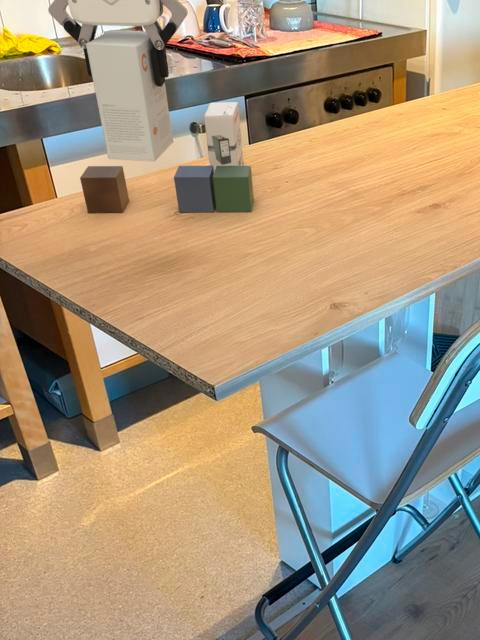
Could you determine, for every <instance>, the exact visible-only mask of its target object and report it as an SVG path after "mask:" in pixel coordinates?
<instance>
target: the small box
mask: <svg viewBox="0 0 480 640" xmlns="http://www.w3.org/2000/svg"><path fill="white" fill-rule="evenodd" d="M86 47H87V52H88V57H89V63H90V68H91V73H92V76H91V77H92V82H93V88H94V93H95V98H96V102H97V108H98V114H99V118H100V121H101V122H100V123H101V128H102V134H103V139H104V144H105V148H106V154H107V158H108V159H109V160H118V161H120V160H121V161H135V162H136V161H137V162H156V161H157V160H158V159H159V158H160V157H161V156H162V155H163V154H164V153H165V152H166V151H167V149H169V148H170V146H172V144H174V136H173V129H172V122H171V117H170V109H169V102H168V96H167V95H168V94H167V87H166V81H165V82H164V84H163V85H162V87H157V85H155V80H154V73H153V67H152V60H151V50H152V49H153V47H152V41H151V40H150V38H149V36H148V34H147V33H146V31H145V30H125V29H124V30H120V29H119V30H118V29H117V30H116V29H110V30H108V31H106V32H104V33H102V34H101V35H99V36H98V37H95V38H94V40H92V41H90V42H89V43H87V44H86Z"/></svg>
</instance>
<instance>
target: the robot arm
mask: <svg viewBox="0 0 480 640" xmlns="http://www.w3.org/2000/svg"><path fill="white" fill-rule="evenodd" d="M67 7H68V9H69V13H70V14H69V13H68V11H67ZM164 7H165V8H166V9H168V10H169V12H170V13H171V17H170V18H169V20H168V22H167V23H166V24H165V26H164V27H162V26H161V24H160V22H159V20H158V19H159V18H160V17H161V16H162V15H163V14H164ZM47 11H48V14H49V15H50V16H51V17H52V18H53V19H54V20H55V21H56V22H57V23H58V24H59V25H60V26H61V27H63V29H64V32H66V33H67V34H68V35H69V36H70V37H72V39H73V40H74V41H76V42H77V43H78V45H79V47H80V48H81V49H83V50H82V51H83V54H84V60H85V66H86V70H87V74H88V76H89V77H92V73H91V68H90V63H89V57H88V52H87V47H86V44H87V43H89V42H90V41H92V40H94V39H96V34H97V30H98V27H99V26H114V27H117V26H118V27H119V26H120V27H142V28H143V29H144V31H146V33H147V34H148V36H149V38H150V40H151V41H152V47H153V49H152V50H151V60H152V67H153V73H154V80H155V85H157V87H162V85H163V84H164V82H165V83H166V78H169V76H170V73H169V64H168V56H167V50H166V46H167V44H168V43H169V41H170V40H171V39H172V38H173V36H174V35H175V34H176V32H178V29H179V28H180V26H181V25H182V24H183V22H184V20H185V19H186V17H187V16H188V15H189V13H188V11H189V10H188V9H187V8H186V6H184V5H183V3H181V2H180V1H179V0H53V1H52V2H51V4H50V5H49V6H48V10H47Z"/></svg>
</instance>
